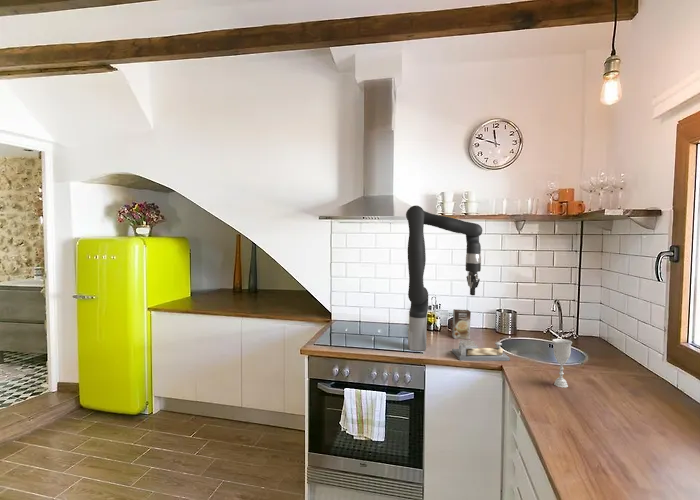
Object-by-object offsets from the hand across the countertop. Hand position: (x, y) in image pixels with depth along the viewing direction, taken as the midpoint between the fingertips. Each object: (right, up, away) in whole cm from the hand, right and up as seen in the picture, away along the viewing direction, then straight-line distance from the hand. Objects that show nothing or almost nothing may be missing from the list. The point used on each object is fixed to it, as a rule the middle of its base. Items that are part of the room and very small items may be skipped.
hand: (472, 295), depth 203 cm
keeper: (-6, -30, -12) cm, 32 cm away
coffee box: (+1, -28, +25) cm, 38 cm away
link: (+2, -28, -12) cm, 30 cm away
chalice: (+22, -31, -45) cm, 59 cm away
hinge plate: (+1, -29, -9) cm, 31 cm away
